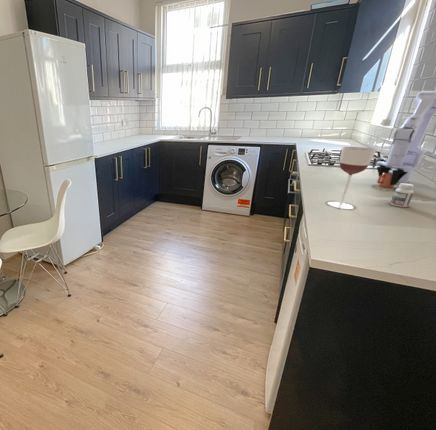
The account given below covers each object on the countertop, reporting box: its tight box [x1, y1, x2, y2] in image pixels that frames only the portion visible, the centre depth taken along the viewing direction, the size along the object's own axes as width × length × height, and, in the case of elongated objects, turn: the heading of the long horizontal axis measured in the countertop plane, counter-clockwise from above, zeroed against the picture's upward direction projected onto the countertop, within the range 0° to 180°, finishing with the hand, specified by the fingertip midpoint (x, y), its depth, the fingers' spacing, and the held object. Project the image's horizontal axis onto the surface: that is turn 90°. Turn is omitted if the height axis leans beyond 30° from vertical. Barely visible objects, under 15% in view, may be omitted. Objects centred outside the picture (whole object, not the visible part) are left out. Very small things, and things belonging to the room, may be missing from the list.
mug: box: [376, 171, 395, 189], centre depth 135 cm, size 8×6×7 cm
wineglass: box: [327, 146, 377, 210], centre depth 110 cm, size 9×10×23 cm
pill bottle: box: [390, 182, 415, 208], centre depth 113 cm, size 5×5×9 cm
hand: (386, 183), depth 136 cm, fingers closed on mug, 5 cm apart
